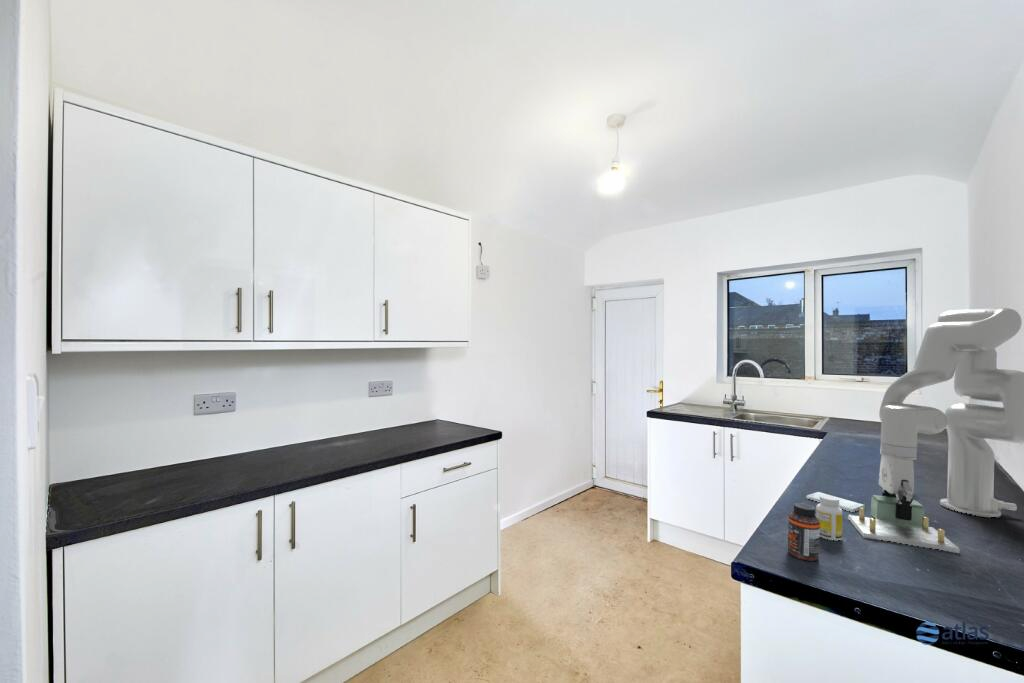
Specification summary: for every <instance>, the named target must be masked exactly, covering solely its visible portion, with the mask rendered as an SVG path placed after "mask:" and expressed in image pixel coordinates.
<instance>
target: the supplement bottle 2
mask: <svg viewBox="0 0 1024 683" xmlns="http://www.w3.org/2000/svg"><path fill="white" fill-rule="evenodd" d="M829 495H830V494H828V495H820V502H821V503H818V504H816V506H815V516H816V517H817V518H818V519H819V521H820V538H821V537H822V539H825V540H827V539H828V541H833V540H834V542H837V541H838V540H840V541H842V540H843V519H844V518H843V515H844V514H843V510H842V509H841V508H839V507H838V506H839V499H838V498H839V497H838V498H836V497H837V496H835V497H833V496H834V495H831V496H829ZM838 542H839V541H838Z"/></svg>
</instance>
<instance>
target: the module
mask: <svg viewBox="0 0 1024 683" xmlns="http://www.w3.org/2000/svg"><path fill="white" fill-rule="evenodd" d="M870 498H871V499H870V501H871V502H870V516H871V515H872V516H873V517H874V518H875V519H881V520H887V521H894V522H901V523H907V524H914V525H920V526H922V517H926V516H925V514H926V511H925V508H924V505H923V504H922V503H920V502H919V501H918V500H914V499H913V501H912V504H913V505H912V520H911V521H908V520H902V519H897V518H896V517H895V512H896V503H898V502H897V498H893V497H886V496H882V495H876V494H872V496H871V497H870ZM872 516H871V517H872ZM873 517H872V518H873Z"/></svg>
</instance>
